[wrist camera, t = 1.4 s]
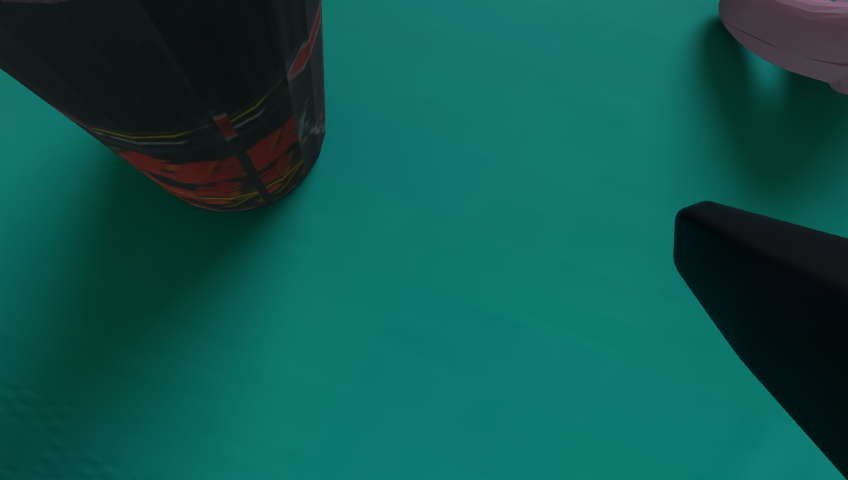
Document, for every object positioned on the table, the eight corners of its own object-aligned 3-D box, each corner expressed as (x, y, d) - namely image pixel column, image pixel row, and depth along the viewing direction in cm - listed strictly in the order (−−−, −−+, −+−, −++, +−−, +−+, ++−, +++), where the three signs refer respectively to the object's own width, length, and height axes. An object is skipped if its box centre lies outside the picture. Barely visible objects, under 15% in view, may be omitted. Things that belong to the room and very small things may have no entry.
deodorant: (91, 133, 22) (-436, -257, 7) (216, -8, 22) (-7, -622, 8) (246, 250, 22) (66, 121, 7) (363, 106, 23) (421, -278, 8)
